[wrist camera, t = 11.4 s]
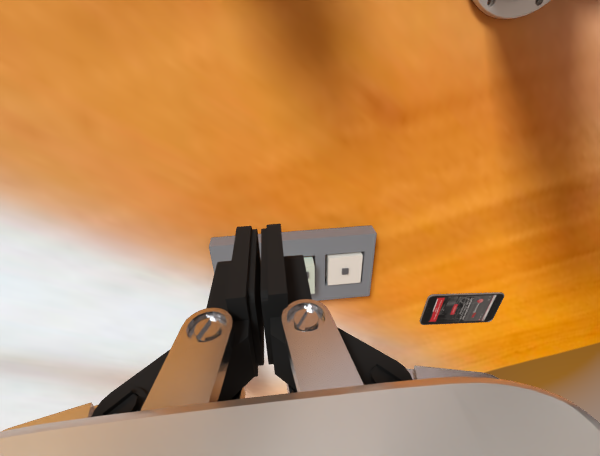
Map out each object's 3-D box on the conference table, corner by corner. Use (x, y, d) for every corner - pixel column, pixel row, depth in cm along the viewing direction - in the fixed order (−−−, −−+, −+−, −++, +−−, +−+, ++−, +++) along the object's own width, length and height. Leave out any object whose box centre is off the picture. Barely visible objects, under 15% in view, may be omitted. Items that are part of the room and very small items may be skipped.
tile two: (312, 256, 45) (314, 267, 43) (312, 283, 48) (315, 294, 46) (277, 259, 45) (278, 270, 43) (279, 286, 48) (280, 298, 45)
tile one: (358, 246, 47) (363, 256, 45) (356, 273, 50) (360, 283, 48) (325, 249, 47) (328, 259, 45) (325, 275, 49) (328, 286, 47)
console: (371, 225, 46) (376, 233, 44) (365, 286, 52) (369, 295, 50) (211, 237, 44) (208, 246, 42) (223, 299, 50) (222, 309, 48)
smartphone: (429, 295, 54) (505, 293, 56) (427, 293, 55) (503, 291, 57) (419, 324, 58) (491, 321, 60) (418, 322, 59) (489, 319, 60)
